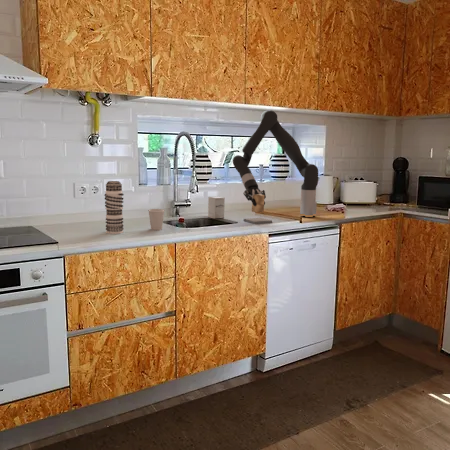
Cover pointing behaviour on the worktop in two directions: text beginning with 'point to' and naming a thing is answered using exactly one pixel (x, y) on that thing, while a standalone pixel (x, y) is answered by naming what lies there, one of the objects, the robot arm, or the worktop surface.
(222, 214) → the supplement box
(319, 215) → the worktop surface
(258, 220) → the plate
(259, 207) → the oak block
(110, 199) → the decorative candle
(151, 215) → the dixie cup
